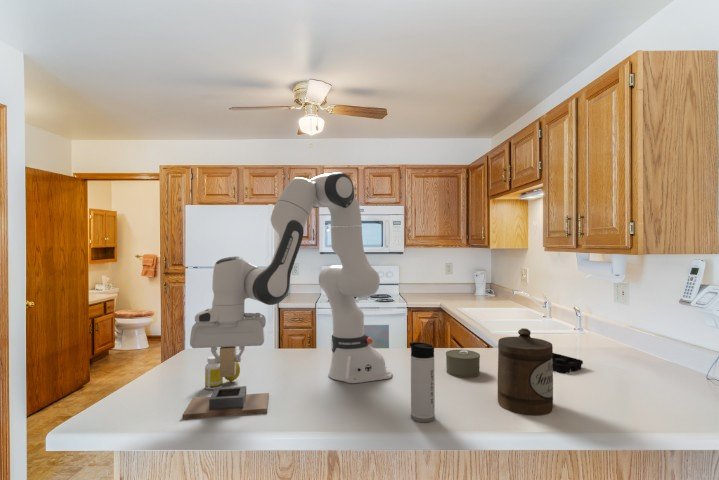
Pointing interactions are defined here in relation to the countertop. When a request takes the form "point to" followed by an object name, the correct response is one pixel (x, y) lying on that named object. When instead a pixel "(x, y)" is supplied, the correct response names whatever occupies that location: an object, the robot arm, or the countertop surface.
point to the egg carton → (565, 363)
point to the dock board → (251, 406)
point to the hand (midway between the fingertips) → (228, 362)
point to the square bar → (227, 361)
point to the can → (463, 363)
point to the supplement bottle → (212, 374)
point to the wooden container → (525, 374)
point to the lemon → (235, 374)
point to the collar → (227, 398)
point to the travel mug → (422, 382)
